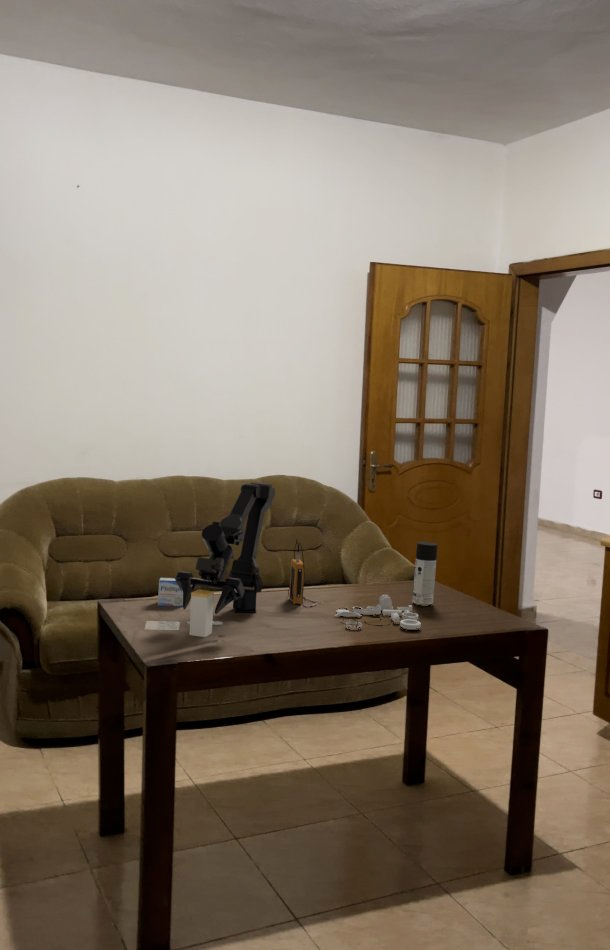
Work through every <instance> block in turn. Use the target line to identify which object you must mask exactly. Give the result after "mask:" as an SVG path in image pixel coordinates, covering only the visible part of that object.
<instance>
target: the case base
mask: <svg viewBox="0 0 610 950" xmlns="http://www.w3.org/2000/svg"><path fill="white" fill-rule="evenodd" d="M180 625H181V621H163V620H146V621H145V626H144V630H148V631H151V630H152V631H153V630H156V631H179V630H180Z"/></svg>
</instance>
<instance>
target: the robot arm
mask: <svg viewBox="0 0 610 950" xmlns="http://www.w3.org/2000/svg"><path fill="white" fill-rule="evenodd" d="M275 496H276V489H275V488H274V487H273V486H272V483H271V484H270V483H264V482H250V483H244V484H242V485H241V488H240V493H239V495H238V496H237V499H236V500H235V503H234V505H233V507H232V508H231V511H230V512H229V514H228V516H226V517H224V518H222V519H221V520H220V521H213V522H212V524H210V525H207V526H206V527H204V529H202V532H201V536H202V540H203V542H204V544H205V546H206V548H207V550H208V551H209V553H210V554H209V557H208V558H207V557H197V559H196V564H195V567H194V568H195V570H197V571H198V576H200V578H198V577H194V574H193V573H192V572H189V571H183V570H182V571H181V570H180V571H177V573H176V575H175V577H174V578H175V580H176V582H177V584H178V586H179V588H180V589H182V591H183V606H182V609H183V611H184V610H186V609H187V608H188V605H189V604H190V603H191V593H192V592H194V591H193V590H195V589H196V587H197V586H198V587H206V588H209V589H210V588H212V589H218V590H221V594H220V596H219V599H218V601H217V604H216V606H215V608H214V614H215V615H218V614H219V613H220V612H221V611H222V610H224V608H226V606H228V605H229V604H230V603H232V609H234V613H257V594H258V593H261V592H262V589H263V584H264V583H263V580H262V578H261V576H260V568H259V565H258V562H257V554H258V549H259V543H260V539H261V533H262V527H263V522H264V517H265V513H266V512H267V511H268V510H270V508H271V506H272V503H273V500H274V499H275ZM245 523H246V525H245V530H244V524H245ZM240 544H242V545H241V551H240V555H239V556H238V557H237V559H234V557H235V555H234V549H233V547H232V546H239V545H240ZM231 559H233V561H232V565H231V568H230V569H231V570H230V571H229V576H228V577H226V579H225V580H224V577H225V576H227V575H228V571H227V570H228V567H229V565H230V563H231Z"/></svg>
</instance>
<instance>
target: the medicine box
mask: <svg viewBox="0 0 610 950" xmlns="http://www.w3.org/2000/svg"><path fill="white" fill-rule="evenodd" d="M157 601H158V602H157V606H159V607H160V606H163V607H183V591H182V589H180V588H179V586H178V584H177V582H176V580H175V577H174V578H173V577H160V578H159V580H158V596H157Z"/></svg>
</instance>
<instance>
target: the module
mask: <svg viewBox="0 0 610 950" xmlns="http://www.w3.org/2000/svg"><path fill="white" fill-rule="evenodd" d="M214 594H215V592H214V590H209V589H207V590H206V589H200V588H199V589H196V590H194V591H193V592H192V593H191V599H190V613H189V614H190V615H189V616H190V618H189V621H190V624H189V635H190V636H193V637H195V636H196V637H201V638H207V637H208V636H209V635H211V634H212V633H213V625H212V621H213V619H214V615H213V614H214Z"/></svg>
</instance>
